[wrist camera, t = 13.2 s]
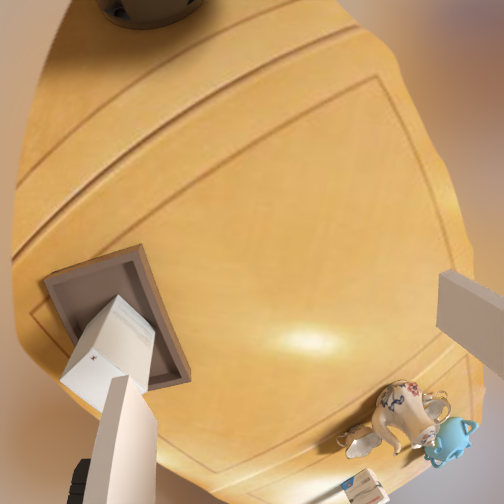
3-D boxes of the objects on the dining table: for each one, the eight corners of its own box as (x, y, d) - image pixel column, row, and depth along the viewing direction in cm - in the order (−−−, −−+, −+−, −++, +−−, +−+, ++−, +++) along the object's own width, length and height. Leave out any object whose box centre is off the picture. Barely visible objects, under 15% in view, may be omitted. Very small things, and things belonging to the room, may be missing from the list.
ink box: (348, 487, 64) (363, 517, 53) (340, 484, 63) (356, 515, 52) (373, 470, 64) (391, 500, 53) (366, 467, 62) (384, 498, 51)
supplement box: (86, 323, 38) (56, 379, 26) (118, 292, 37) (92, 345, 25) (123, 358, 40) (108, 420, 28) (158, 330, 40) (149, 391, 28)
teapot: (463, 401, 63) (485, 423, 53) (458, 429, 69) (476, 450, 59) (420, 432, 63) (441, 459, 52) (419, 457, 68) (436, 480, 58)
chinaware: (333, 445, 58) (360, 502, 43) (326, 408, 51) (363, 478, 36) (434, 392, 60) (470, 436, 45) (444, 347, 54) (492, 395, 38)
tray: (52, 272, 36) (43, 280, 33) (141, 243, 37) (137, 250, 34) (109, 386, 42) (106, 398, 39) (190, 369, 43) (191, 381, 41)
